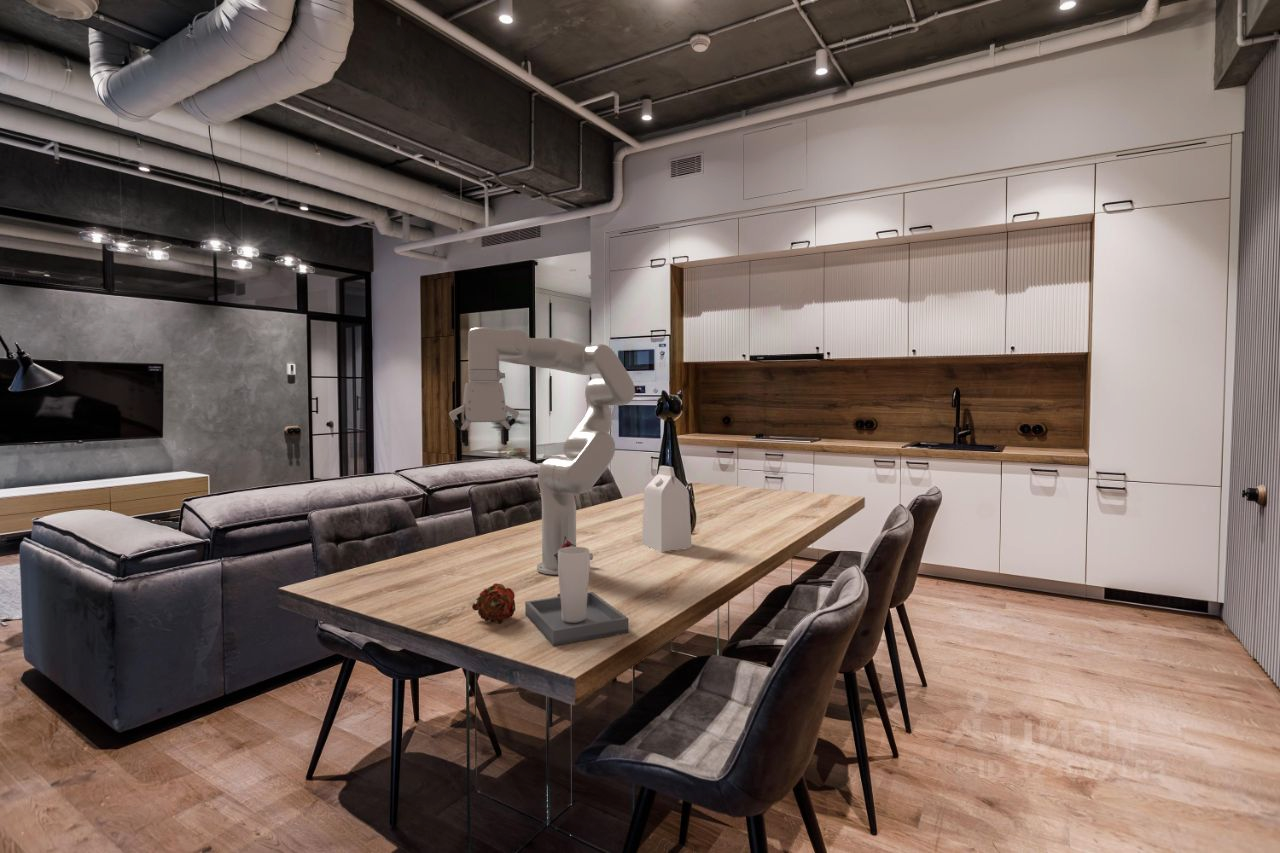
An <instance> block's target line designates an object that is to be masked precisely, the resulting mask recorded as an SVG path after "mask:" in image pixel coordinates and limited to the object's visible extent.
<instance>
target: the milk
mask: <svg viewBox="0 0 1280 853" xmlns="http://www.w3.org/2000/svg"><path fill="white" fill-rule="evenodd" d="M674 469H675V468H674V467H673V466H667V465H659V467H658V472H657V474H656V475H655V476H654V478H652V480H650V481H649V483H647V485H646V486H645V488H644V491H643V492H644V493H643V512H642V513H643V515H642V533H641V535H642V537H641V545H642V544H643V545H645V546H644V547H646V546H648V547H650V548H649V549H651V548H653V549H655V550H654V551H656V550H658V551H660V552H659V553H661V552H662V553H664V552H663V551H669V552H671V551H670V550H676V551H678V550H677V549H683V548H690V547H692V548H693V546H692V527H691V509H690V508H691V507H690V494H689V493H690V492H689V490H688V487H686V486H685V485H684V484H683V483H682V481H681V480H679V479H678V478H677V476H676V474H675V470H674ZM643 545H642V546H643ZM648 547H647V548H648ZM653 549H652V550H653ZM690 549H691V548H690ZM683 550H684V549H683ZM658 551H657V552H658Z"/></svg>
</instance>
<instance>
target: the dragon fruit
mask: <svg viewBox="0 0 1280 853" xmlns="http://www.w3.org/2000/svg"><path fill="white" fill-rule="evenodd" d="M475 600H476V602H473V603H472V605H471V608H472V610H473V611H477V613H478V616H479V617H480V618H481V619H482V620H483V621H485V622H488V621H489V622H491V623H493V624H502V623H503V621H506V620H507V619H509V618H510V619H511V618H512V617H513V616H514V613H515V611H516V602H515V592H514V591H513V590H512V589H511V588H510V587H505V585H504V584H502V583H496V582H495V583H493V584H492V585H491V586H489V587H487V588H484V589H483V590H482V591H481V592H480V593H479V596H478V597H477V598H476V599H475Z"/></svg>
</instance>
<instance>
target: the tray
mask: <svg viewBox="0 0 1280 853" xmlns="http://www.w3.org/2000/svg"><path fill="white" fill-rule="evenodd" d="M524 605H525V606H524V607H525V613H524V614H525V616H526V617H527V618H528V619H529V621H530V622H531V623H532V624H533V625H534V626H535V628H537V630H538V631H539V632H540V633H541V634H542V635H543V636H544V637H545V638H546V640H547V641H548V642H549V643H550V644H551V645H552V646H553V647H557V646H562V645H567V644H574V643H578V642H579V643H580V642H585V641H591V640H595V639H600V638H607V636H608V637H613V636H617V634H619V635H624V634H628V632H629V629H630V628H629V624H630V623H629V618H628V617H627V616H626V615H625V614H623V613H622V612H620V611H619V610H618V609H616V607H614V606H612V605H611V604H610V603H608V602H607V601H606V600H604V598H601V597H600V596H599V595H597V594H596V593H595V592H594V591H588V597H587V617H586V619H585V620H584V621H582V622H579V623H568V622H565V621H563V620H562V617H561V599H560V597H558V596H555V597H554V596H553V597H547V598H541V599H535V600H527V601H525V602H524ZM623 633H624V634H623ZM612 635H613V636H612Z"/></svg>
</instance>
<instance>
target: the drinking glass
mask: <svg viewBox="0 0 1280 853" xmlns="http://www.w3.org/2000/svg"><path fill="white" fill-rule="evenodd" d="M589 553H590V549H589V548H587V547H583V546H576V547H565V548H561V549H559V550H558V586H559V593H560V599H561V617H562V620H563V621H565V622H568V623H579V622H582V621H584V620H585V619H586V617H587V597H588V592H589V585H590V584H589V582H590V581H589V580H590V569H591V568H590V566H591V560H590V555H589Z"/></svg>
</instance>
